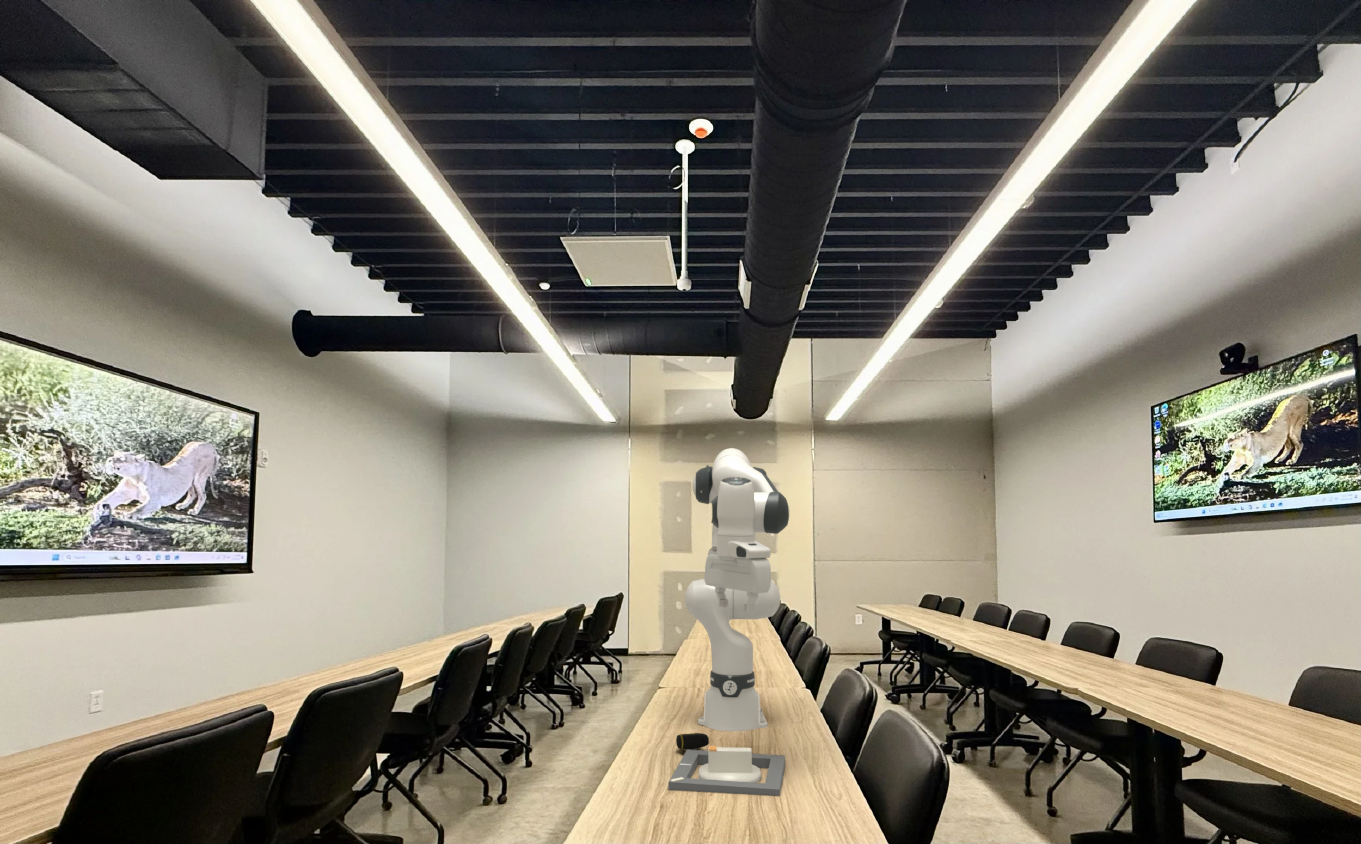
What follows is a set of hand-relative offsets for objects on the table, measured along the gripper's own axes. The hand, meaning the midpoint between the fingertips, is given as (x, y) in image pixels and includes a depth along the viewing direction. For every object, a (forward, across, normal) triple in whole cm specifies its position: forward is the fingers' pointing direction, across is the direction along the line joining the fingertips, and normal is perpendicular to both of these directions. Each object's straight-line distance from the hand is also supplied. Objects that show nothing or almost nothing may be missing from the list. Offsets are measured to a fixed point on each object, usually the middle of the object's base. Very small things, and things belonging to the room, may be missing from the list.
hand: (736, 609), depth 188 cm
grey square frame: (+34, +9, -8) cm, 36 cm away
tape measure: (+34, -10, -1) cm, 35 cm away
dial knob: (+34, +9, -8) cm, 36 cm away
